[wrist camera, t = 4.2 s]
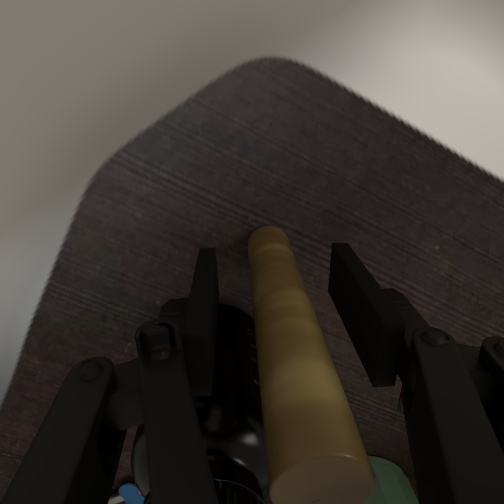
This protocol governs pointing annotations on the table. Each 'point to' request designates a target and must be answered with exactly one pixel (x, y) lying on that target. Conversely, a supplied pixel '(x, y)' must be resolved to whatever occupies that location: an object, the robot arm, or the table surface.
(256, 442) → the supplement bottle
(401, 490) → the tumbler
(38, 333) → the table surface
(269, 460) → the yellow cylindrical rod
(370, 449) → the table surface
